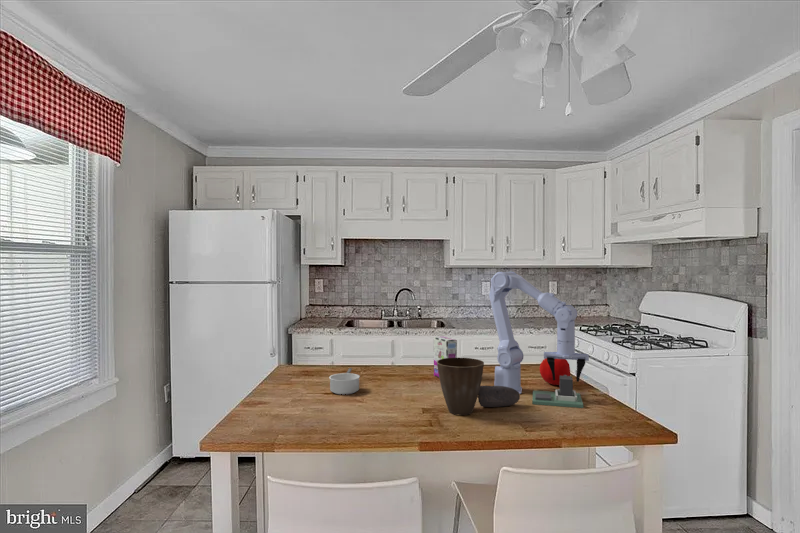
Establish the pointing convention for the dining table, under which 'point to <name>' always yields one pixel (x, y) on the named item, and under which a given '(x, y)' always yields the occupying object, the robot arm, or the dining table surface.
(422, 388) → the dining table surface
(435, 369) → the candy bar box
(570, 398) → the board
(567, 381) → the plug
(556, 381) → the tomato
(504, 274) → the robot arm
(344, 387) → the saucepan
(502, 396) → the perforated stone tool
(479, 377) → the plant pot
